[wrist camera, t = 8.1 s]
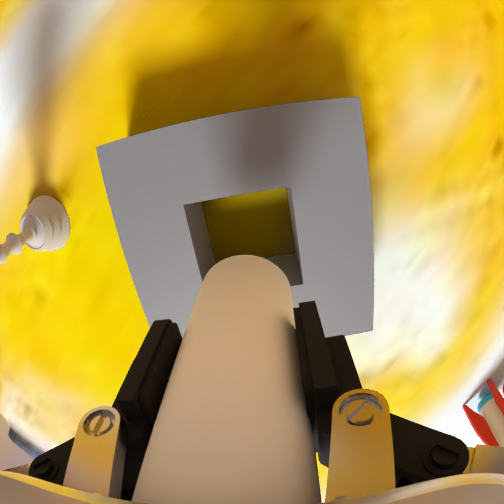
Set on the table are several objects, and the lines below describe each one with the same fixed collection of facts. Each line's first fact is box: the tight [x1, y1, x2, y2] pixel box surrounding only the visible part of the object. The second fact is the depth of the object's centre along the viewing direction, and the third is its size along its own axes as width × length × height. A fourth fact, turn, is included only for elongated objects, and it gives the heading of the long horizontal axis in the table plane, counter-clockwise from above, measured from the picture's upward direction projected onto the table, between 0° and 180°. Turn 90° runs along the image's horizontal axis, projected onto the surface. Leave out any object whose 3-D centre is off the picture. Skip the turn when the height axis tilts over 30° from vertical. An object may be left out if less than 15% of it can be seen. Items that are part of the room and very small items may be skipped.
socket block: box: [96, 97, 374, 339], centre depth 21 cm, size 15×15×5 cm
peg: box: [132, 255, 321, 504], centre depth 9 cm, size 4×4×12 cm
